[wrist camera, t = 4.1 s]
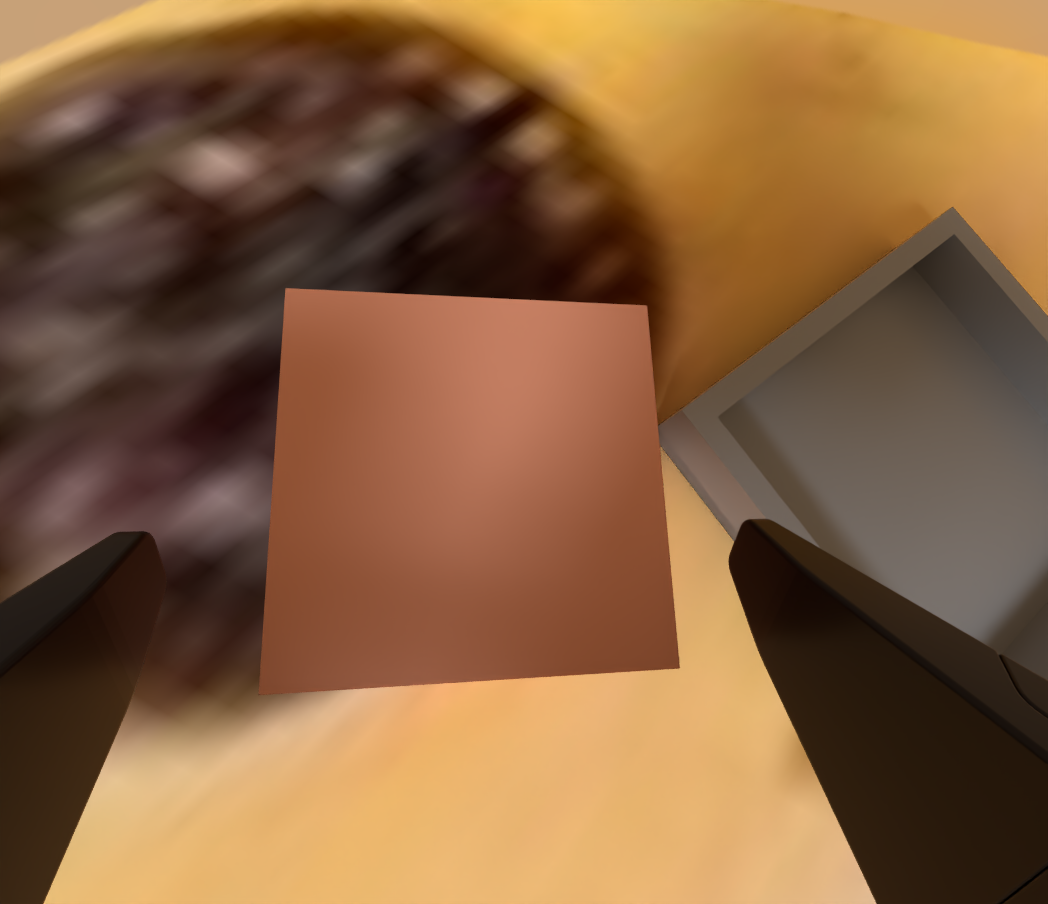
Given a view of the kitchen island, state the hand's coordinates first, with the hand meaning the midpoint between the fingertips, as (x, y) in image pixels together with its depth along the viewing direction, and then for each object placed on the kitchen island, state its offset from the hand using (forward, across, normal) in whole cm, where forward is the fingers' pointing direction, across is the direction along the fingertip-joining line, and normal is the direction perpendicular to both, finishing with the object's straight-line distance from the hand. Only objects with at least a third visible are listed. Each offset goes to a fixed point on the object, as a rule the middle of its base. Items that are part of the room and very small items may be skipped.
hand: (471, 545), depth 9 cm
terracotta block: (+7, 0, +5) cm, 9 cm away
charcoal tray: (+8, -16, +4) cm, 19 cm away
